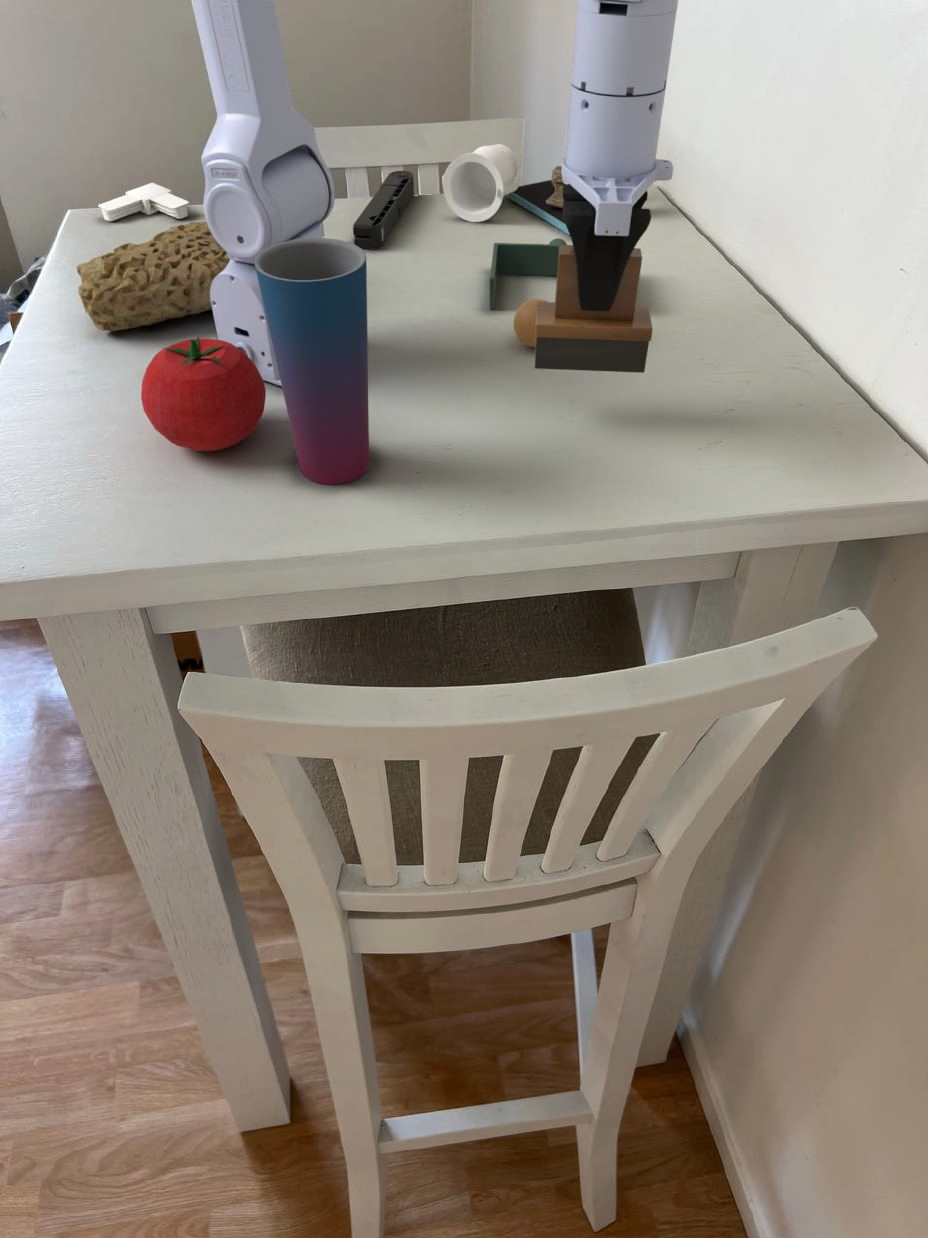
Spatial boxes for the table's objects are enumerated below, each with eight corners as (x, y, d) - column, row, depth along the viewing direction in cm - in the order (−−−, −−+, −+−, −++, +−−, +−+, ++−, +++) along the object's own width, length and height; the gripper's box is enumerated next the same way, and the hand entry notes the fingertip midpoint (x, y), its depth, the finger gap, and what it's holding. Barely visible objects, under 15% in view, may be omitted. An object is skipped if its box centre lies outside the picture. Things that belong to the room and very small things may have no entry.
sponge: (110, 364, 78) (320, 284, 81) (63, 276, 74) (288, 194, 76) (109, 327, 89) (295, 257, 91) (68, 248, 84) (265, 177, 86)
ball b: (544, 359, 76) (547, 315, 74) (504, 348, 78) (505, 304, 75) (565, 341, 79) (569, 297, 76) (526, 330, 80) (528, 287, 78)
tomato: (287, 453, 66) (271, 352, 60) (168, 482, 63) (140, 380, 58) (254, 398, 72) (237, 302, 66) (143, 423, 69) (115, 325, 63)
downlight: (503, 228, 99) (527, 202, 106) (509, 160, 94) (535, 138, 101) (436, 215, 101) (464, 191, 108) (439, 148, 96) (468, 127, 103)
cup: (268, 475, 64) (231, 267, 53) (322, 431, 68) (297, 230, 58) (348, 502, 61) (325, 289, 51) (398, 454, 66) (387, 249, 55)
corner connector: (135, 222, 96) (139, 237, 97) (194, 199, 100) (198, 214, 102) (92, 203, 100) (97, 217, 101) (152, 182, 104) (155, 196, 105)
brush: (645, 374, 65) (663, 264, 59) (533, 369, 65) (540, 260, 60) (641, 349, 67) (658, 242, 62) (533, 345, 68) (540, 238, 62)
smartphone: (578, 233, 96) (505, 188, 105) (577, 243, 96) (504, 198, 105) (632, 220, 98) (555, 178, 107) (631, 230, 99) (555, 187, 108)
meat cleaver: (592, 206, 99) (549, 202, 98) (590, 217, 100) (547, 213, 99) (569, 164, 107) (529, 160, 106) (567, 175, 108) (527, 171, 107)
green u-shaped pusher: (626, 313, 83) (630, 282, 81) (489, 309, 84) (490, 278, 82) (618, 264, 91) (622, 234, 89) (494, 260, 92) (495, 231, 90)
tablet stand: (391, 168, 105) (416, 170, 105) (392, 192, 107) (417, 193, 107) (350, 224, 93) (378, 226, 92) (353, 249, 94) (380, 251, 94)
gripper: (699, 119, 48) (660, 352, 58) (673, 58, 59) (643, 263, 68) (569, 116, 49) (551, 348, 58) (566, 55, 59) (551, 260, 69)
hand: (594, 302), depth 63 cm, fingers closed on brush, 2 cm apart
